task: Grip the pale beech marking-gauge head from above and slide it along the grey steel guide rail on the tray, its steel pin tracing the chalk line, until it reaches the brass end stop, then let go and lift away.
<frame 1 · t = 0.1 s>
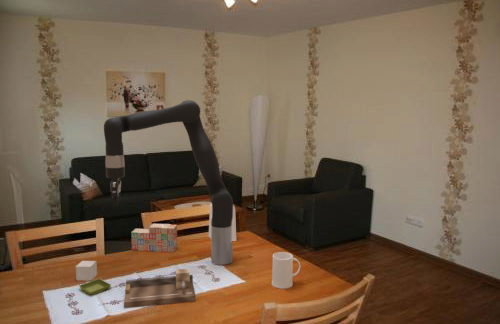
hand: (116, 203, 168), 29 cm above the table, tool pointing down, fingers open, 8 cm apart
green square dish: (95, 290, 154), on the table
stack of blocks: (154, 249, 197), on the table
milk: (222, 239, 213), on the table
tray: (160, 295, 149), on the table
gauge: (182, 285, 153), point 2 cm above the table, touching tray
white cube: (86, 277, 164), on the table
mug: (286, 284, 160), on the table
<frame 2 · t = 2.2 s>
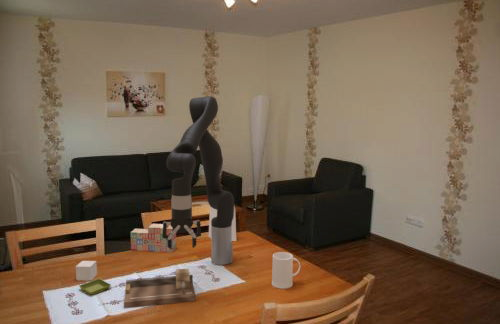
hand: (182, 247, 151), 17 cm above the table, tool pointing down, fingers open, 8 cm apart
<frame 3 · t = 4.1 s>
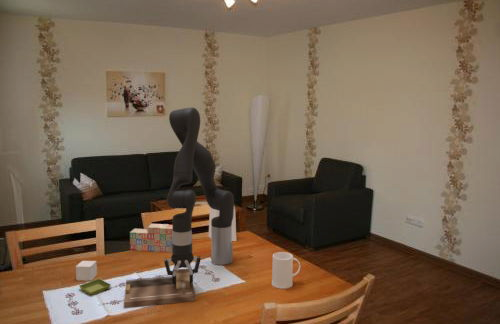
hand: (182, 283, 153), 3 cm above the table, tool pointing down, fingers closed on gauge, 5 cm apart
gauge: (182, 285, 153), point 2 cm above the table, touching tray, gripper
everything else where it was.
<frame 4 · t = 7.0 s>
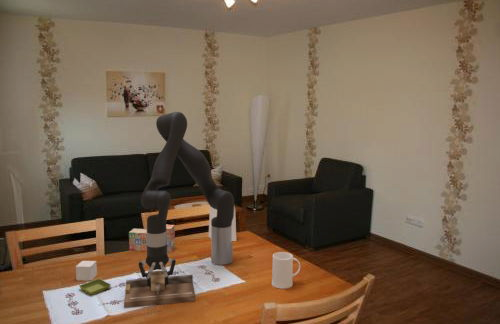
hand: (157, 285, 151), 3 cm above the table, tool pointing down, fingers closed on gauge, 5 cm apart
gauge: (157, 288, 151), point 2 cm above the table, touching gripper
when the fingers open (3 cm above the table, at t = 9.4 s): gauge stays where it is, resting on tray.
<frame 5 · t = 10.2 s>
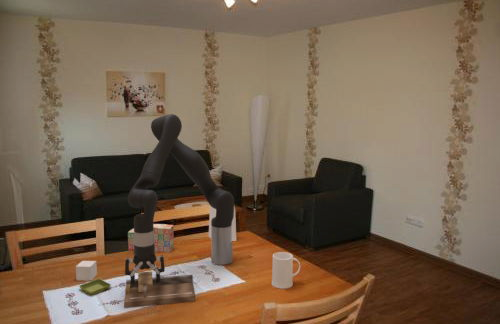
hand: (145, 283, 150), 4 cm above the table, tool pointing down, fingers open, 8 cm apart
gauge: (145, 289, 150), point 2 cm above the table, touching tray
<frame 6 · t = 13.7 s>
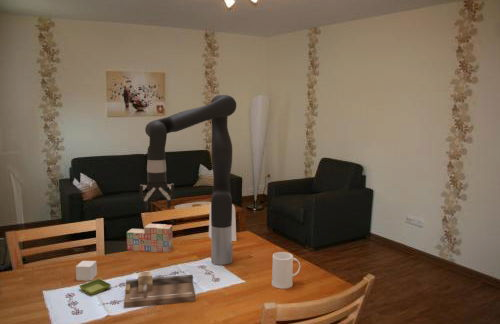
hand: (157, 209, 165), 28 cm above the table, tool pointing down, fingers open, 8 cm apart
at the end: gauge 0.2 cm from the target spot, point 2.0 cm above the table; gauge tilted 0°; the gripper is holding nothing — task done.
